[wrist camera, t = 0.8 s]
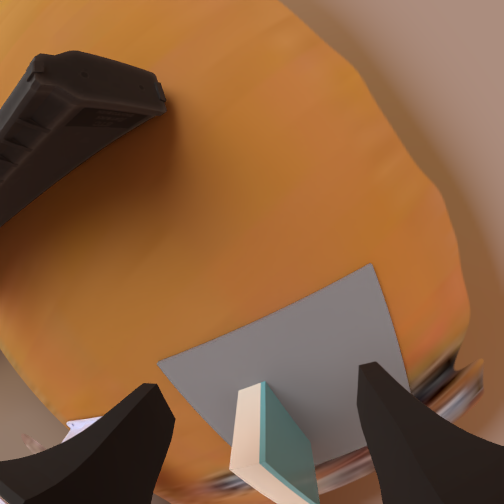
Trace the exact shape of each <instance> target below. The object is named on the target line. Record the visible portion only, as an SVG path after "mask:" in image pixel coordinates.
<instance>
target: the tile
mask: <svg viewBox="0 0 504 504" xmlns="http://www.w3.org/2000/svg"><path fill="white" fill-rule="evenodd" d="M229 470H231V471H232V472H233V473H234V474H236V475H237V476H238V477H240V478H241V479H242V480H244V481H245V482H246V483H248V484H249V485H250V486H252V487H253V488H254V489H256V490H257V491H259V492H260V493H262V494H263V495H265V496H266V497H268V498H269V499H271V500H272V501H274V502H275V503H277V504H320V502H319V494H318V487H317V481H316V474H315V467H314V461H313V454H312V448H311V442H310V441H309V440H308V438H307V437H306V436H305V434H304V433H303V432H302V431H301V429H300V428H299V427H298V425H297V424H296V423H295V421H294V420H293V419H292V417H291V416H290V415H289V413H288V412H287V411H286V409H285V408H284V407H283V405H282V404H281V402H280V401H279V400H278V398H277V397H276V395H275V394H274V393H273V391H272V390H271V388H270V387H269V386H268V384H267V383H266V381H264V382H261V383H258V384H256V385H253V386H250V387H247V388H245V389H242V390H239V391H238V400H237V408H236V417H235V425H234V434H233V442H232V451H231V459H230V468H229Z"/></svg>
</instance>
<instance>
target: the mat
mask: <svg viewBox="0 0 504 504" xmlns="http://www.w3.org/2000/svg"><path fill="white" fill-rule="evenodd" d="M375 361H376V362H377V363H379V364H380V365H381V366H382V367H383V368H384V369H385V370H386V371H387V372H388V373H389V374H390V375H391V376H392V377H393V378H394V379H395V380H396V381H397V382H398V383H399V384H401V385H402V386H403V387H404V388H405V389H406V390H407V391H408V392H410V388H409V384H408V379H407V375H406V371H405V367H404V363H403V359H402V355H401V351H400V348H399V344H398V341H397V337H396V334H395V330H394V327H393V324H392V321H391V317H390V314H389V311H388V308H387V305H386V302H385V299H384V296H383V293H382V290H381V287H380V285H379V282H378V279H377V276H376V274H375V271H374V268H373V266H372V264H371V263H369V264H368V265H366V266H364V267H362V268H360V269H359V270H357V271H355V272H353V273H351V274H349V275H347V276H346V277H344V278H342V279H340V280H338V281H336V282H334V283H332V284H330V285H328V286H327V287H325V288H323V289H321V290H319V291H317V292H315V293H313V294H311V295H309V296H307V297H305V298H303V299H301V300H299V301H297V302H295V303H293V304H291V305H289V306H287V307H284V308H282V309H280V310H278V311H276V312H274V313H272V314H270V315H268V316H265V317H263V318H261V319H259V320H257V321H254V322H252V323H250V324H248V325H246V326H243V327H241V328H239V329H237V330H234V331H232V332H230V333H227V334H225V335H223V336H220V337H218V338H216V339H213V340H211V341H209V342H206V343H204V344H201V345H199V346H197V347H194V348H192V349H189V350H187V351H184V352H182V353H179V354H177V355H174V356H171V357H169V358H166V359H164V360H161V361H158V363H157V365H158V366H159V368H160V369H161V370H162V371H163V373H164V374H165V375H166V376H167V378H168V379H169V380H170V381H171V383H172V384H173V385H174V386H175V387H176V389H177V390H178V391H179V392H180V393H181V394H182V396H183V397H184V398H185V399H186V400H187V401H188V402H189V404H190V405H191V406H192V407H193V408H194V409H195V410H196V411H197V412H198V413H199V415H200V416H201V417H202V418H203V419H204V420H205V421H206V422H207V423H208V424H209V425H210V426H211V427H212V428H213V429H214V430H215V431H216V432H217V433H218V434H219V435H220V436H221V437H222V438H223V439H224V440H225V441H226V442H227V443H228V444H229V445H230V446H231V447H232V442H233V434H234V425H235V417H236V408H237V400H238V391H239V390H242V389H245V388H247V387H250V386H253V385H256V384H258V383H261V382H264V381H266V383H267V384H268V386H269V387H270V388H271V390H272V391H273V393H274V394H275V395H276V397H277V398H278V400H279V401H280V402H281V404H282V405H283V407H284V408H285V409H286V411H287V412H288V413H289V415H290V416H291V417H292V419H293V420H294V421H295V423H296V424H297V425H298V427H299V428H300V429H301V431H302V432H303V433H304V434H305V436H306V437H307V438H308V440H309V441H310V442H311V448H312V454H313V461H314V465H317V464H320V463H323V462H326V461H329V460H332V459H335V458H337V457H340V456H343V455H345V454H348V453H350V452H353V451H355V450H357V449H360V448H362V447H364V446H367V443H366V440H365V437H364V434H363V431H362V428H361V423H360V419H359V414H358V409H357V405H356V403H357V389H358V370H359V365H362V364H366V363H371V362H375Z"/></svg>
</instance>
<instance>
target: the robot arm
mask: <svg viewBox="0 0 504 504" xmlns="http://www.w3.org/2000/svg"><path fill="white" fill-rule="evenodd" d="M356 405H357V409H358V414H359V419H360V423H361V428H362V431H363V434H364V437H365V440H366V443H367V446H368V449H369V451H370V454H371V457H372V460H373V463H374V466H375V470H376V473H377V475H378V479H379V484H380V489H381V495H382V501H383V504H504V446H501V445H498V444H495V443H492V442H489V441H487V440H485V439H482V438H480V437H477V436H475V435H473V434H470V433H468V432H466V431H464V430H463V429H461V428H459V427H457V426H455V425H454V424H452V423H450V422H449V421H447V420H445V419H444V418H442V417H441V416H439V415H438V414H436V413H435V412H434V411H432V410H431V409H430V408H428V407H427V406H426V405H424V404H423V403H422V402H420V401H419V400H418V399H417V398H416V397H414V396H413V395H412V394H411V393H410V392H408V391H407V390H406V389H405V388H404V387H403V386H402V385H401V384H399V383H398V382H397V381H396V380H395V379H394V378H393V377H392V376H391V375H390V374H389V373H388V372H387V371H386V370H385V369H384V368H383V367H382V366H381V365H380V364H379V363H377V362H376V361H375V362H371V363H366V364H362V365H359V370H358V389H357V403H356ZM174 424H175V417H174V415H173V414H172V412H171V410H170V408H169V406H168V404H167V402H166V401H165V399H164V397H163V395H162V393H161V391H160V389H159V387H158V385H157V384H149V383H143V384H142V385H141V386H139V387H138V388H137V389H135V390H134V391H133V392H132V393H130V394H129V395H128V396H127V397H126V398H124V399H123V400H122V401H121V402H120V403H118V404H117V405H116V406H115V407H114V408H112V409H111V410H110V411H109V412H107V413H106V414H105V415H104V416H101V417H95V418H89V419H82V420H75V421H68V422H67V425H68V426H69V427H70V429H71V430H70V431H69V433H68V434H67V436H66V437H65V439H64V440H63V441H62V443H61V444H59V445H57V446H54V447H52V448H50V449H47V450H45V451H43V452H40V453H37V454H34V455H31V456H27V457H23V458H19V459H14V460H8V461H0V496H1V497H2V498H3V499H5V500H6V501H7V502H8V503H9V504H151V500H152V495H153V491H154V487H155V484H156V481H157V478H158V476H159V473H160V470H161V467H162V465H163V462H164V459H165V457H166V454H167V451H168V448H169V445H170V442H171V439H172V434H173V429H174ZM2 498H0V504H8V503H7V502H5V501H4V500H3V499H2Z"/></svg>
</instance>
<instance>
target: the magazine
mask: <svg viewBox="0 0 504 504" xmlns="http://www.w3.org/2000/svg"><path fill="white" fill-rule="evenodd" d="M164 102H166V98H165V95H164V92H163V89H162V86H161V83H159V82H158V81H157V78H156V75H155V74H154V73H152V72H149V71H146V70H143V69H140V68H137V67H134V66H131V65H128V64H125V63H121V62H118V61H115V60H111V59H108V58H104V57H100V56H97V55H93V54H89V53H85V52H80V51H67V52H64V53H61V54H58V55H55V56H54V55H48V54H41V53H40V54H39V55H37V56H35V57H34V58H33V60H32V61H31V63H30V65H29V67H28V68H27V70H26V73H25V74H24V75H23V77H22V78H21V80H20V81H19V83H18V84H17V86H16V87H15V89H14V90H13V92H12V93H11V95H10V96H9V97H8V99H7V100H6V102H5V103H4V105H3V106H2V108H1V109H0V227H1V226H2V225H3V224H4V223H6V222H7V221H8V220H9V219H11V218H12V217H13V216H14V215H16V214H17V213H18V212H19V211H20V210H22V209H23V208H24V207H25V206H27V205H28V204H29V203H30V202H32V201H33V200H34V199H35V198H37V197H38V196H39V195H40V194H42V193H43V192H44V191H46V190H47V189H48V188H49V187H51V186H52V185H53V184H55V183H56V182H57V181H58V180H60V179H61V178H62V177H64V176H65V175H66V174H68V173H69V172H70V171H72V170H73V169H74V168H76V167H77V166H79V165H80V164H81V163H83V162H84V161H85V160H87V159H88V158H90V157H91V156H92V155H94V154H95V153H97V152H98V151H100V150H101V149H102V148H104V147H105V146H107V145H108V144H110V143H111V142H113V141H114V140H116V139H118V138H119V137H121V136H122V135H124V134H126V133H127V132H129V131H130V130H132V129H134V128H135V127H137V126H139V125H140V124H142V123H144V122H146V121H147V120H149V119H151V118H153V117H155V116H161V115H162V114H164V113H166V111H167V109H166V106H165V103H164Z"/></svg>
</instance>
